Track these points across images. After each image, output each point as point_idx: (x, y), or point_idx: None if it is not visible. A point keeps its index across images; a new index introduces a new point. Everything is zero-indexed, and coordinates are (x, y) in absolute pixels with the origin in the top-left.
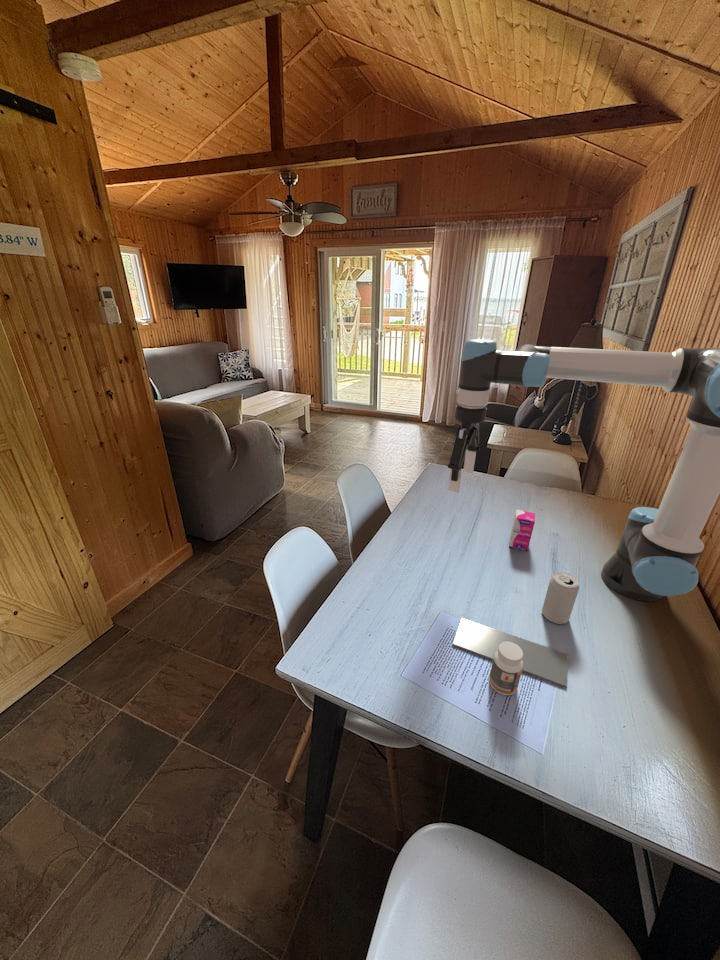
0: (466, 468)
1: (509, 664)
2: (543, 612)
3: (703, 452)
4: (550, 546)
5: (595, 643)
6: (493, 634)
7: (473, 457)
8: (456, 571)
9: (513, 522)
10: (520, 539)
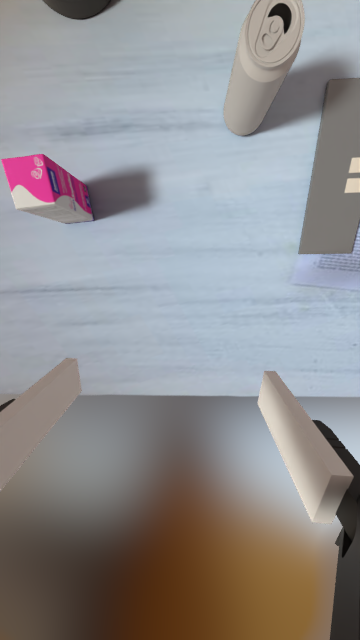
0: (70, 392)
1: None
2: (253, 130)
3: None
4: (45, 142)
5: None
6: (319, 204)
7: (19, 419)
8: (199, 285)
9: (47, 215)
10: (80, 197)
